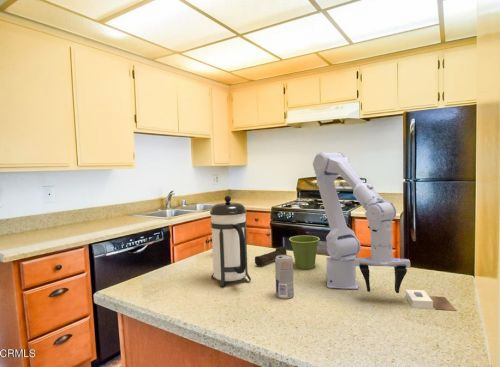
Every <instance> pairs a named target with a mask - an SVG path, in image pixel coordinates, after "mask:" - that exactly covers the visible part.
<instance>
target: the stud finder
mask: <svg viewBox="0 0 500 367" xmlns="http://www.w3.org/2000/svg"><path fill="white" fill-rule="evenodd" d="M404 292H405V296H404V297H405V298H406V299H407V301H408V303H409V304H410V306H411V307H412V309H428V310H429V309H431V310H432V309H434V307H433V301H432V300H431V298H430V297H429V296H430V295H428V293H427V292H426V291H425V290H423V289H407V288H406V289H405V291H404Z"/></svg>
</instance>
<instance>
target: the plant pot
mask: <svg viewBox="0 0 500 367" xmlns="http://www.w3.org/2000/svg"><path fill="white" fill-rule="evenodd" d="M288 240H289V242H290V244H291V247H292V252H293V258H294V262H295V267H296V268H297V269H301V270H310V269H313V268H315V266H316V258H317V251H318V246H319V241H320V240H321V239H320V237H318V236H316V235H303V234H302V235H295V236H294V235H293V236H290V237H288Z"/></svg>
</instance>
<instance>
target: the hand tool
mask: <svg viewBox="0 0 500 367" xmlns="http://www.w3.org/2000/svg"><path fill="white" fill-rule="evenodd" d="M278 255H288V253H287V249H286V246H280V247H277V248H275V250H274V251H271V252H268V253H264V254H262V255H258V256H257V255H256V256H254V264H255V265H256V266H257V267H261V266H263V265H265V264H266V263H268V262H272V261H275V259H276V256H278Z"/></svg>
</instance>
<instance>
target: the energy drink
mask: <svg viewBox="0 0 500 367" xmlns="http://www.w3.org/2000/svg"><path fill="white" fill-rule="evenodd" d="M274 264H275V265H274V268H275V269H274V270H275V294H276V295H275V296H277V297H276V298H278V299H281V300H288V299H292V298H293V297H294V295H295V294H294V292H295V290H294V289H295V288H294V286H295V285H294V259H293V256H291V255H288V254H287V255H278V256H276V259H274Z"/></svg>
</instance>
